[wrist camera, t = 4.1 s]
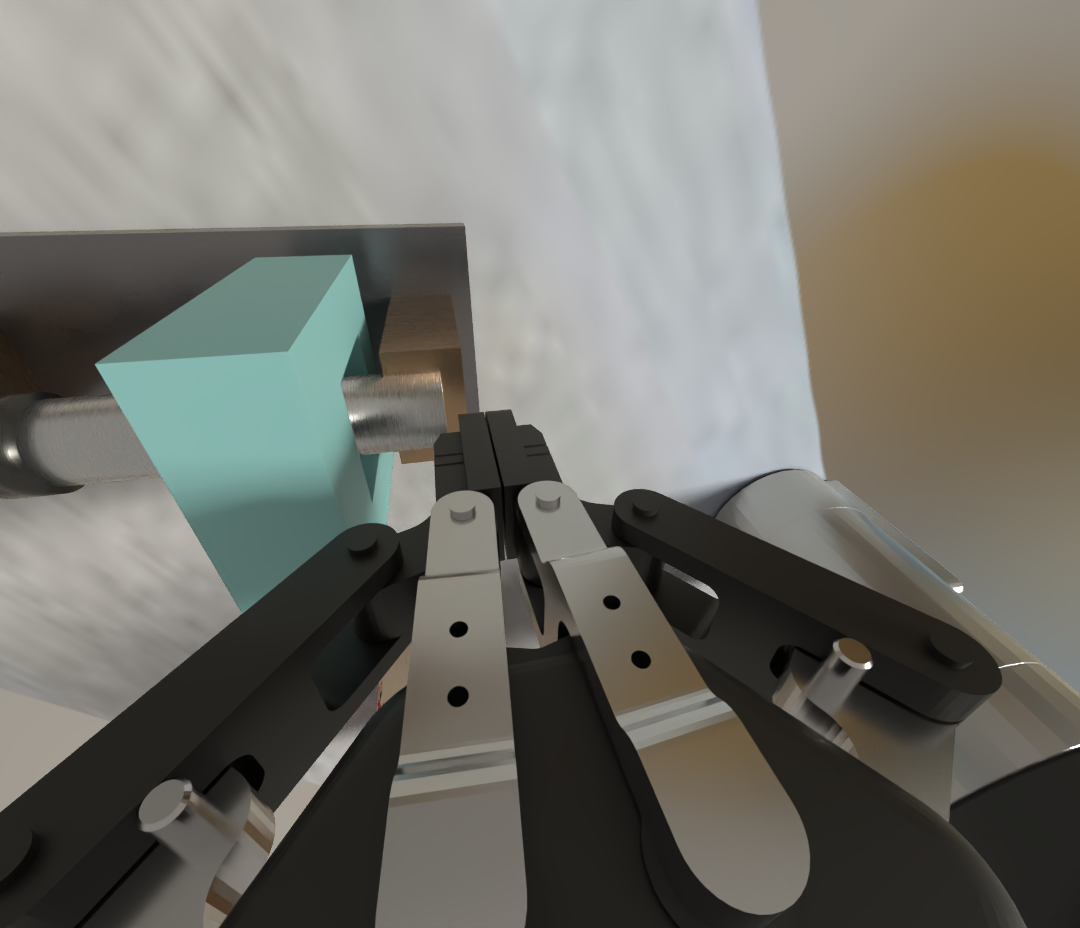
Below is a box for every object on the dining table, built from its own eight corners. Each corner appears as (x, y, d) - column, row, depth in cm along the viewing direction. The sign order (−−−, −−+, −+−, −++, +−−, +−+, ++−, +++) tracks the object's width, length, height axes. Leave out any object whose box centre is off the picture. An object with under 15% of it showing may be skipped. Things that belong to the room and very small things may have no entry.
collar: (351, 254, 15) (287, 351, 8) (393, 452, 20) (377, 626, 13) (255, 257, 15) (94, 364, 8) (321, 459, 19) (261, 645, 12)
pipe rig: (463, 223, 18) (487, 269, 11) (479, 420, 23) (502, 532, 16) (-161, 236, 15) (-663, 314, 8) (21, 464, 20) (-188, 629, 13)
